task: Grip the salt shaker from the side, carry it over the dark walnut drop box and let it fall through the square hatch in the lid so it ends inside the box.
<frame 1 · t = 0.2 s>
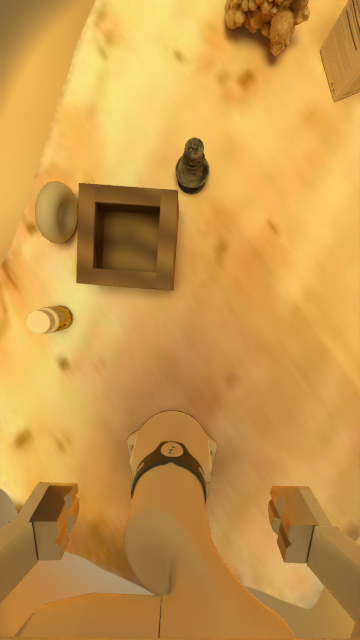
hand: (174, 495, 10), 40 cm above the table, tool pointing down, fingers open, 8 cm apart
mineral formation: (258, 36, 44), on the table
donut: (71, 222, 48), on the table
supplement box: (350, 67, 45), on the table
drop box: (137, 248, 48), on the table
supplement bottle: (62, 317, 50), on the table
salt shaker: (191, 179, 47), on the table
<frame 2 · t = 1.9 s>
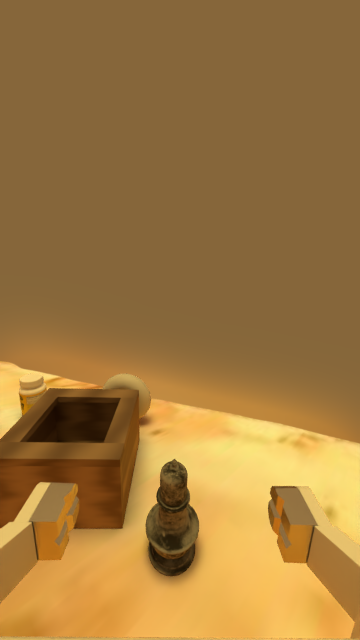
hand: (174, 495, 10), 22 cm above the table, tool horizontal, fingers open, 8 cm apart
donut: (126, 421, 50), on the table
drop box: (82, 475, 37), on the table
supplement bottle: (36, 415, 51), on the table
salt shaker: (171, 548, 28), on the table
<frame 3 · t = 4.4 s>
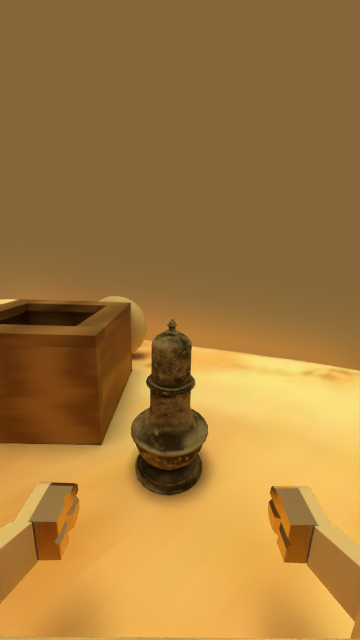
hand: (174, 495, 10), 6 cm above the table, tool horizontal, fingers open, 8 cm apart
donut: (117, 356, 42), on the table
drop box: (55, 396, 29), on the table
salt shaker: (168, 466, 20), on the table
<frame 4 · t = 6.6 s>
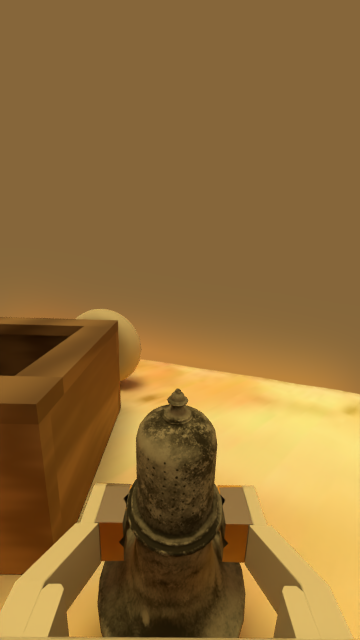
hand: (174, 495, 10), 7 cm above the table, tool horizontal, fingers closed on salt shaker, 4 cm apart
donut: (104, 384, 33), on the table
drop box: (7, 459, 20), on the table
salt shaker: (170, 634, 11), on the table, touching gripper
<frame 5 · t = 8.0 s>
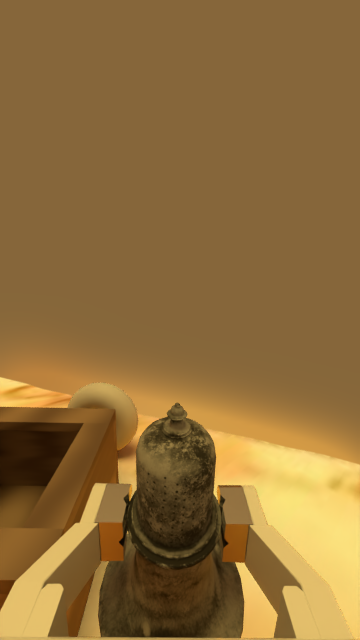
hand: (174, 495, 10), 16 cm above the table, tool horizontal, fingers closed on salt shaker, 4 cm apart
donut: (104, 450, 35), on the table
drop box: (14, 556, 22), on the table
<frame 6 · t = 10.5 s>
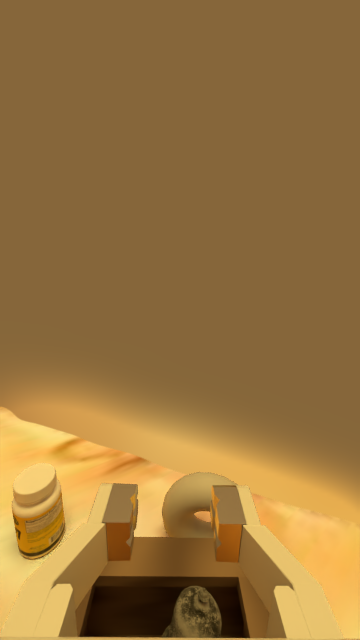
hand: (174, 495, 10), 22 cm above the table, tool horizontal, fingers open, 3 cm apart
donut: (205, 553, 28), on the table
supplement bottle: (42, 538, 29), on the table
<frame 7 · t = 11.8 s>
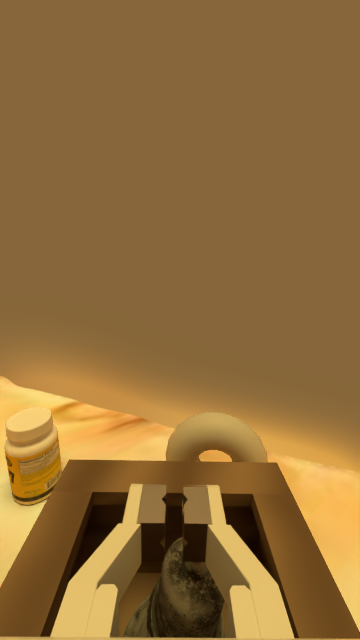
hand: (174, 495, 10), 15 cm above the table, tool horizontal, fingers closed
donut: (212, 501, 26), on the table
supplement bottle: (38, 487, 27), on the table
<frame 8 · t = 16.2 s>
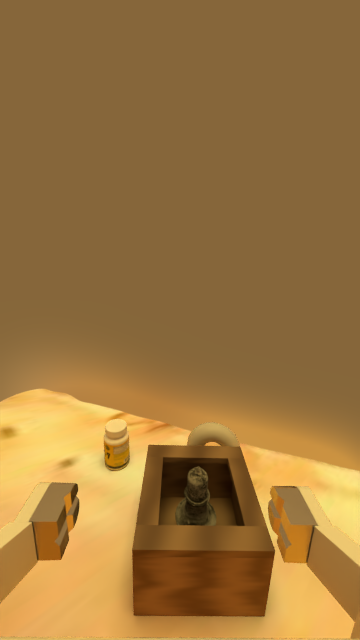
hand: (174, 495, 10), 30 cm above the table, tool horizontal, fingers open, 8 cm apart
donut: (211, 469, 49), on the table
drop box: (194, 542, 36), on the table
supplement bottle: (117, 462, 50), on the table
salt shaker: (194, 535, 36), resting on drop box
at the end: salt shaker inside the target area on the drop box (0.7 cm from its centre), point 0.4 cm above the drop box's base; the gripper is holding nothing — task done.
